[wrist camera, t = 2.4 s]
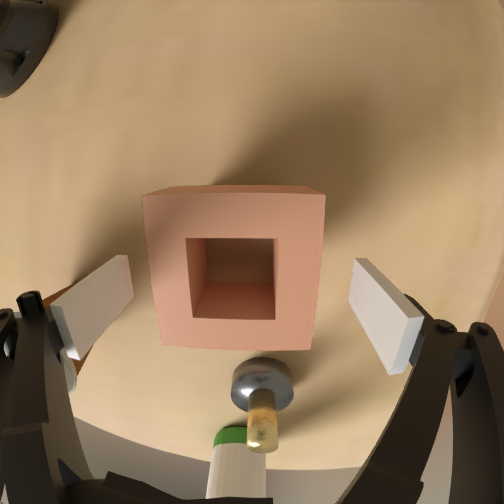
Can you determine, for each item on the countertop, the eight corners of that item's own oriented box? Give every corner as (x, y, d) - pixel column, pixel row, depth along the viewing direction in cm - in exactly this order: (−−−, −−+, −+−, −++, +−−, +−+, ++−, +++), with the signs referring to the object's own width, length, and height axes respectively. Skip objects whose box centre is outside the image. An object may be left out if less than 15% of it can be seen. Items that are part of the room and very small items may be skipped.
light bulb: (231, 356, 29) (222, 427, 19) (293, 357, 29) (304, 427, 19) (234, 396, 31) (227, 460, 22) (288, 396, 31) (295, 460, 21)
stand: (203, 191, 23) (186, 200, 18) (283, 191, 23) (292, 200, 17) (206, 266, 26) (193, 295, 20) (281, 267, 25) (287, 296, 20)
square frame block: (171, 186, 17) (141, 195, 13) (307, 186, 17) (325, 194, 12) (181, 306, 20) (162, 345, 15) (299, 308, 20) (310, 349, 15)
